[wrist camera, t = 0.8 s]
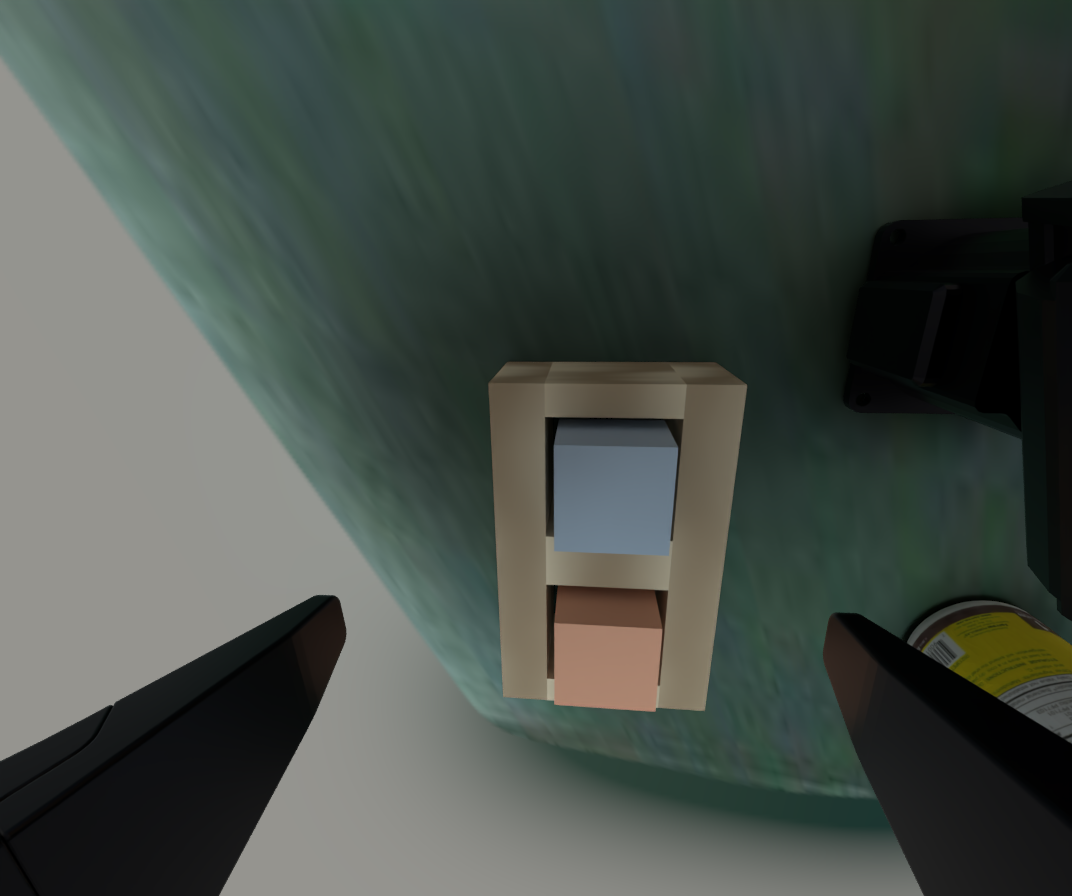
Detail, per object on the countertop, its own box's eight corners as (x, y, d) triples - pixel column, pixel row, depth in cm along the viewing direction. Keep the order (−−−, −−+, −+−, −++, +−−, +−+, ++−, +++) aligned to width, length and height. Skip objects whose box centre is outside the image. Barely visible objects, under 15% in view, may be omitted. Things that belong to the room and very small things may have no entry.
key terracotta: (652, 579, 19) (662, 629, 16) (646, 654, 20) (655, 711, 18) (558, 575, 19) (554, 622, 17) (558, 649, 21) (554, 704, 18)
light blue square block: (664, 420, 17) (678, 447, 14) (657, 514, 18) (669, 555, 16) (559, 418, 17) (553, 445, 15) (558, 511, 18) (554, 551, 16)
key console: (715, 362, 19) (747, 384, 15) (685, 639, 23) (704, 711, 19) (507, 361, 20) (488, 383, 16) (516, 630, 24) (503, 696, 20)
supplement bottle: (1048, 673, 22) (1405, 985, 12) (914, 708, 23) (1143, 1015, 14) (1021, 574, 21) (1401, 840, 11) (881, 618, 22) (1110, 889, 12)
